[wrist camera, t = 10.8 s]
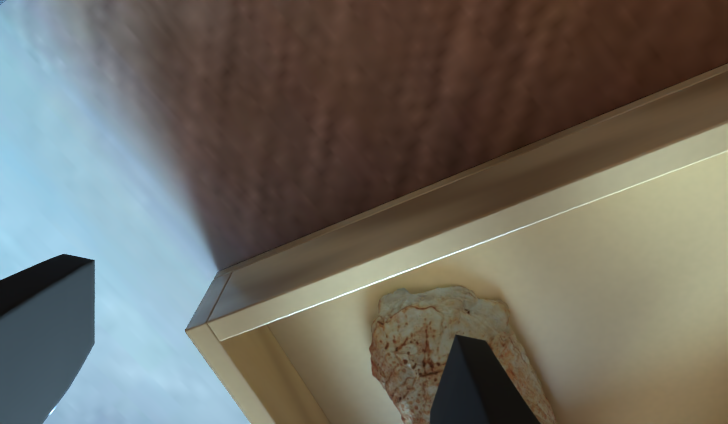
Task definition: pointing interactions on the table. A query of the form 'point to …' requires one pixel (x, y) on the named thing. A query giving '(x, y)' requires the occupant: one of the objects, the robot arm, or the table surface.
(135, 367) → the table surface
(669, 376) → the holder
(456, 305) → the oyster shell
